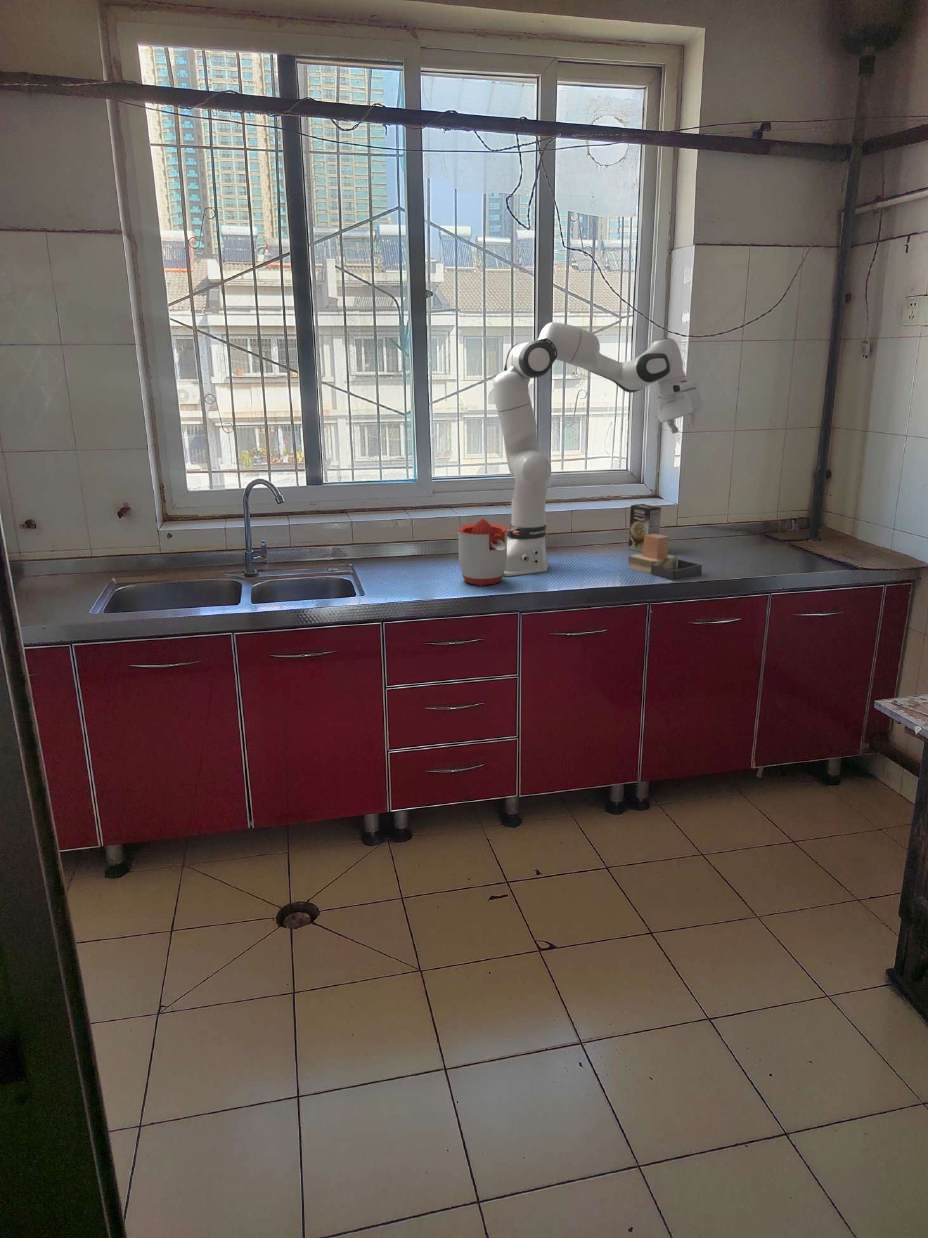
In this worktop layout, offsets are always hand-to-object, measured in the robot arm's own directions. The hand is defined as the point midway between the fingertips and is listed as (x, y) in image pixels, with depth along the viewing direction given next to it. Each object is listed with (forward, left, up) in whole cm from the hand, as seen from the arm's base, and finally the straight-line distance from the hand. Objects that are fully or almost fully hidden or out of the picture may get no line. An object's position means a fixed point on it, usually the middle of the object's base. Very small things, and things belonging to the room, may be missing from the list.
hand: (683, 430), depth 266 cm
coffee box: (+1, +16, -43) cm, 46 cm away
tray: (-16, -15, -43) cm, 48 cm away
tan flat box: (-16, -4, -43) cm, 46 cm away
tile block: (-16, -5, -39) cm, 43 cm away
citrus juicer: (-70, +16, -43) cm, 84 cm away
